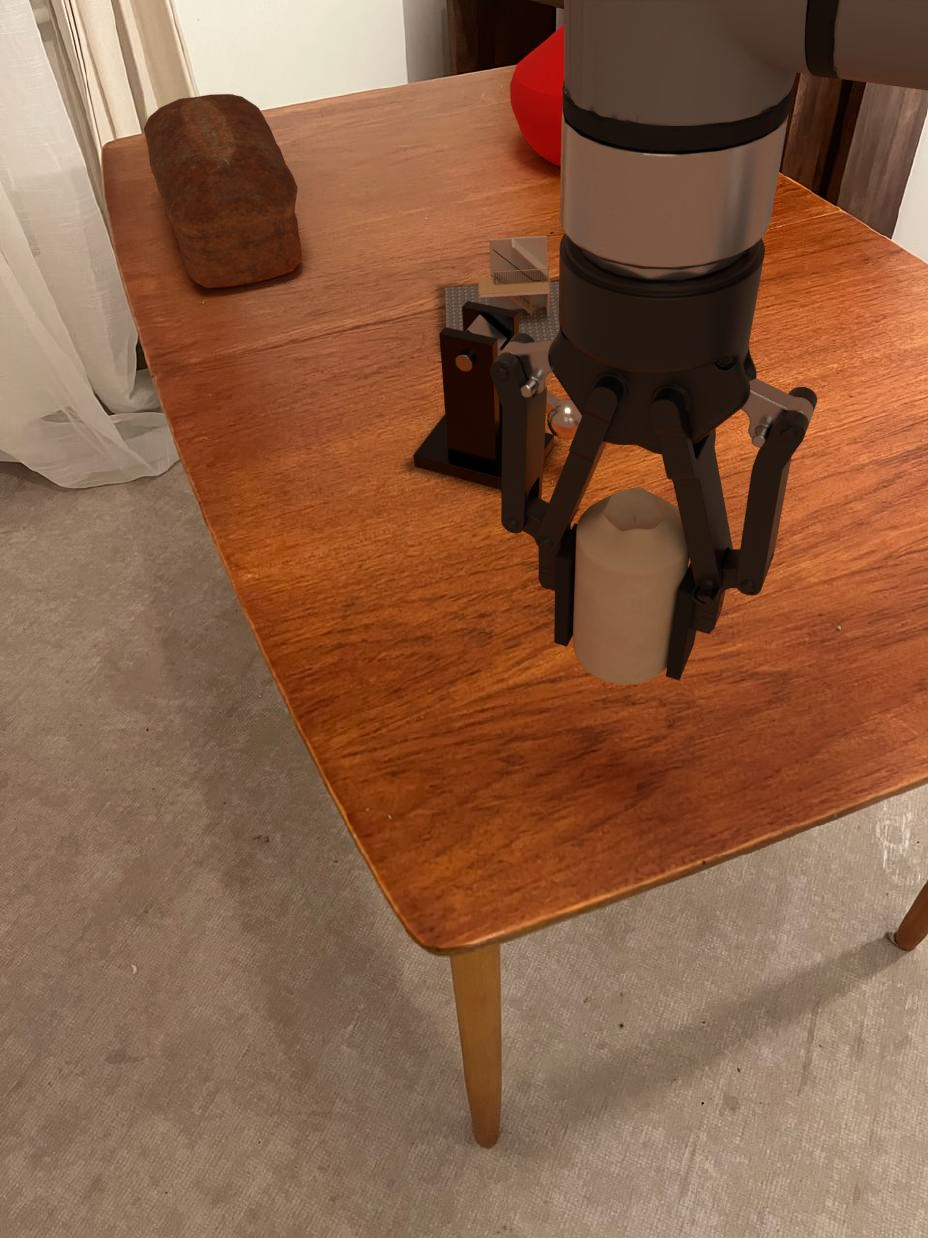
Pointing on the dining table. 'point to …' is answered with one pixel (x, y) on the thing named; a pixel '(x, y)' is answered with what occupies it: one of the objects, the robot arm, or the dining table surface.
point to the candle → (627, 585)
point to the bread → (224, 189)
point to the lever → (560, 412)
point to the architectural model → (514, 288)
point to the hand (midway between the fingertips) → (623, 643)
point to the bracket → (471, 402)
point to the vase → (541, 97)
